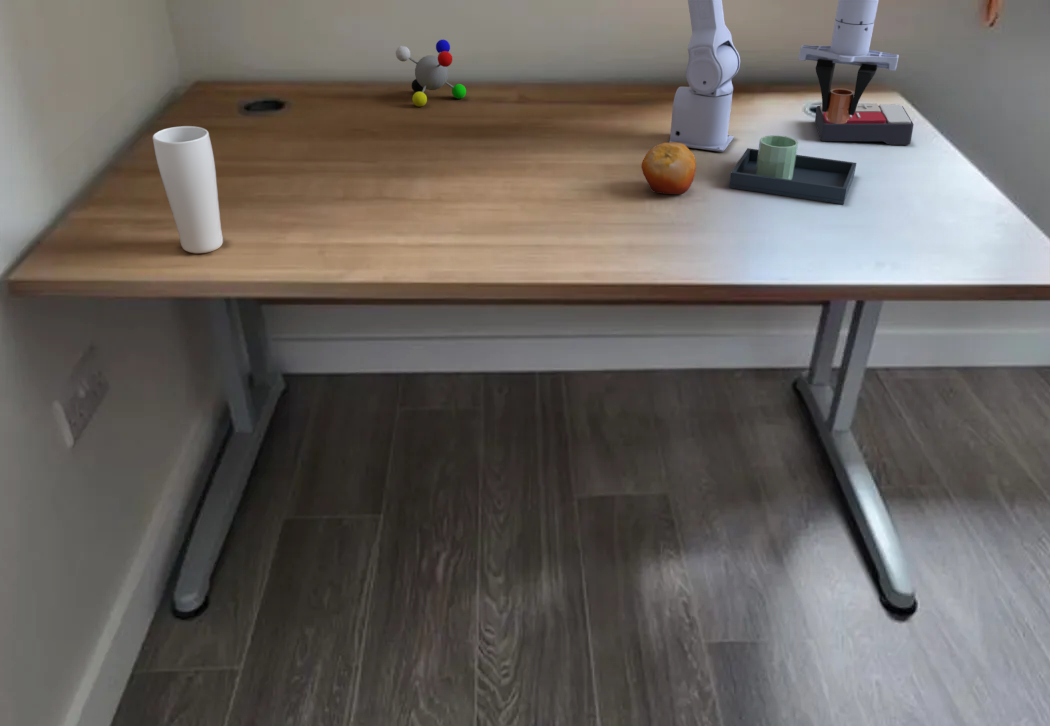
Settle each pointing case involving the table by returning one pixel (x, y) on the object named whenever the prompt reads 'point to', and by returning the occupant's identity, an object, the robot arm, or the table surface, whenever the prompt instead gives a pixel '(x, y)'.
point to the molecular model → (431, 72)
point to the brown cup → (839, 105)
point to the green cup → (776, 157)
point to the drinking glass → (190, 185)
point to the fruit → (669, 168)
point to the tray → (798, 178)
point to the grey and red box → (868, 125)
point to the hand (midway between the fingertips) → (838, 111)
